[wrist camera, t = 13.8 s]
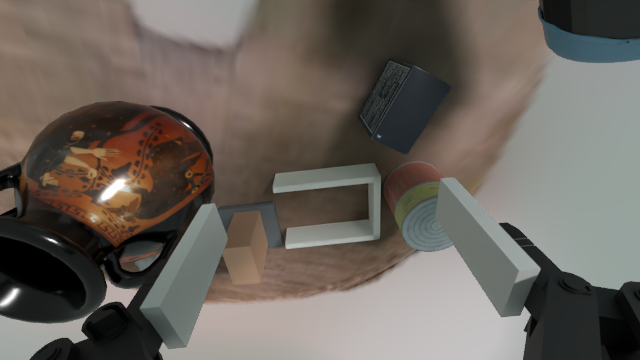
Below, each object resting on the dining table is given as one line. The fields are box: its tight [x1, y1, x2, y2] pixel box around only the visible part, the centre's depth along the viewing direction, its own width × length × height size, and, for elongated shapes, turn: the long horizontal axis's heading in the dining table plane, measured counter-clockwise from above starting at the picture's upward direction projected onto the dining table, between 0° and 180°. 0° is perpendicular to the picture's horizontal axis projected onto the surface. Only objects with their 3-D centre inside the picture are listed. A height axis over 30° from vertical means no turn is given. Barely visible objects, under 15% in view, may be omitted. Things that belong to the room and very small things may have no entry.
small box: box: [358, 58, 452, 155], centre depth 39 cm, size 11×6×10 cm, turn 155°
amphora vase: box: [0, 101, 214, 324], centre depth 35 cm, size 22×22×28 cm
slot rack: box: [273, 163, 381, 249], centre depth 51 cm, size 19×14×5 cm
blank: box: [222, 210, 268, 285], centre depth 51 cm, size 5×9×10 cm, turn 5°
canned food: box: [383, 161, 453, 252], centre depth 48 cm, size 11×11×12 cm
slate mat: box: [218, 202, 283, 247], centre depth 56 cm, size 11×11×1 cm
